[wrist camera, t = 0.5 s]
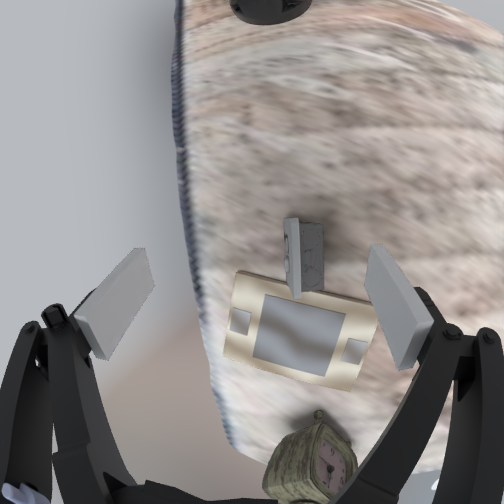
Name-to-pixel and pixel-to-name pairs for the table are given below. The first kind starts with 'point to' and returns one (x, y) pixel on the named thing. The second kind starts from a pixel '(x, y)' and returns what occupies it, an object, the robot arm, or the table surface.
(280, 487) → the tabletop clock
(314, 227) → the electrical switch
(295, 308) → the mounting board
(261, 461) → the table surface
